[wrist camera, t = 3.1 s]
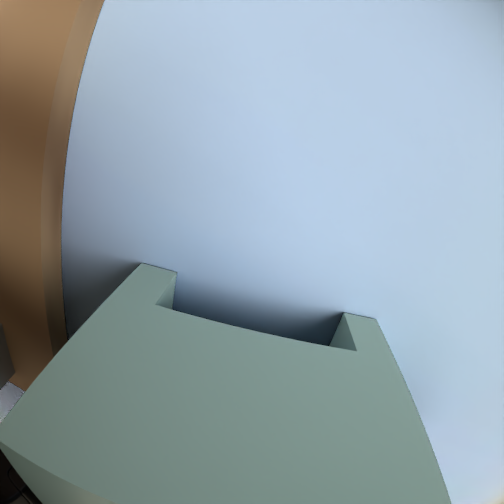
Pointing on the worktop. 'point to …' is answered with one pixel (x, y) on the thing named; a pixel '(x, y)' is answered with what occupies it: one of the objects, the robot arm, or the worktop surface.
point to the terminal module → (217, 413)
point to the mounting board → (36, 169)
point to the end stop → (5, 360)
